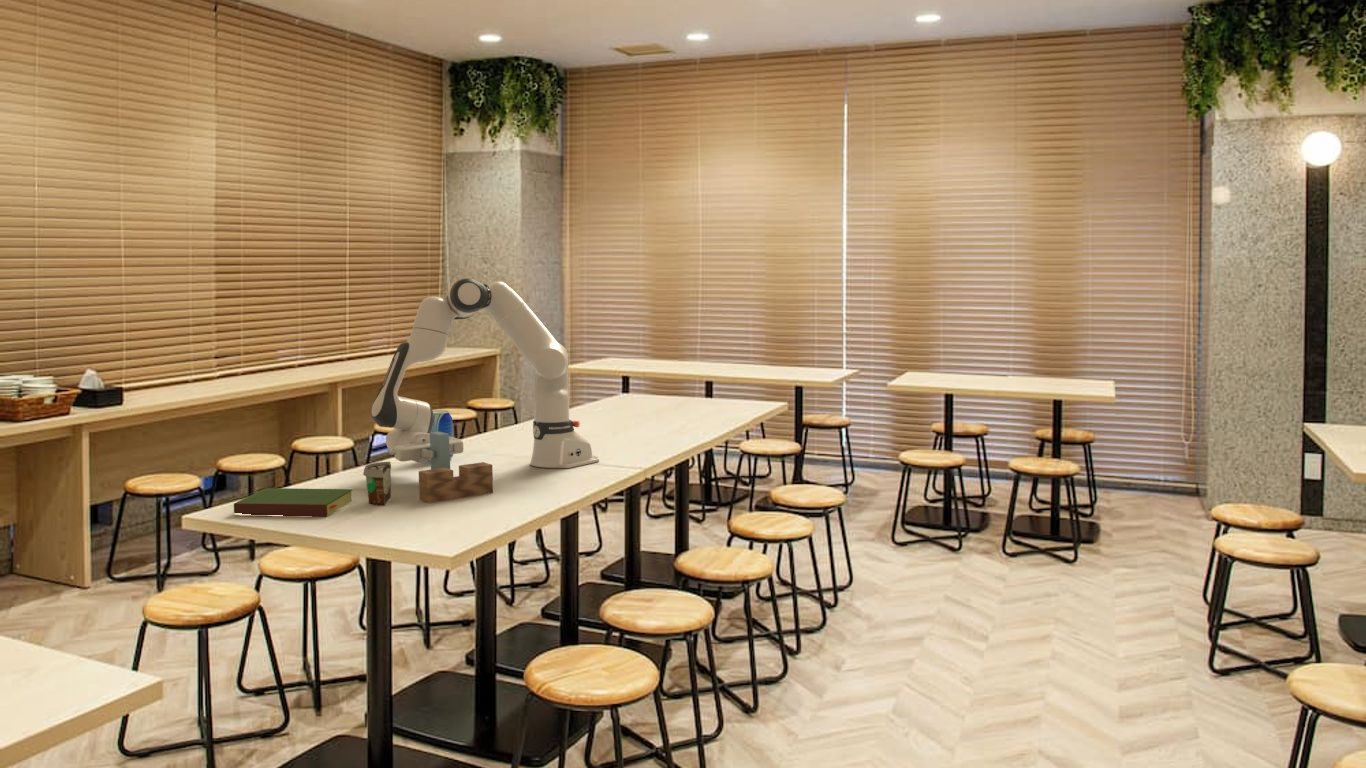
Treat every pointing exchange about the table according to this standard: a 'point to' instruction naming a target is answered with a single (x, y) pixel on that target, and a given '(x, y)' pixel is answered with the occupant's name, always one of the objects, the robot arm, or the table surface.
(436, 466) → the sage green pillar
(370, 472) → the food container
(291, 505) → the hardcover book
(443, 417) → the beer can
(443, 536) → the table surface
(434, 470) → the notched wooden block
